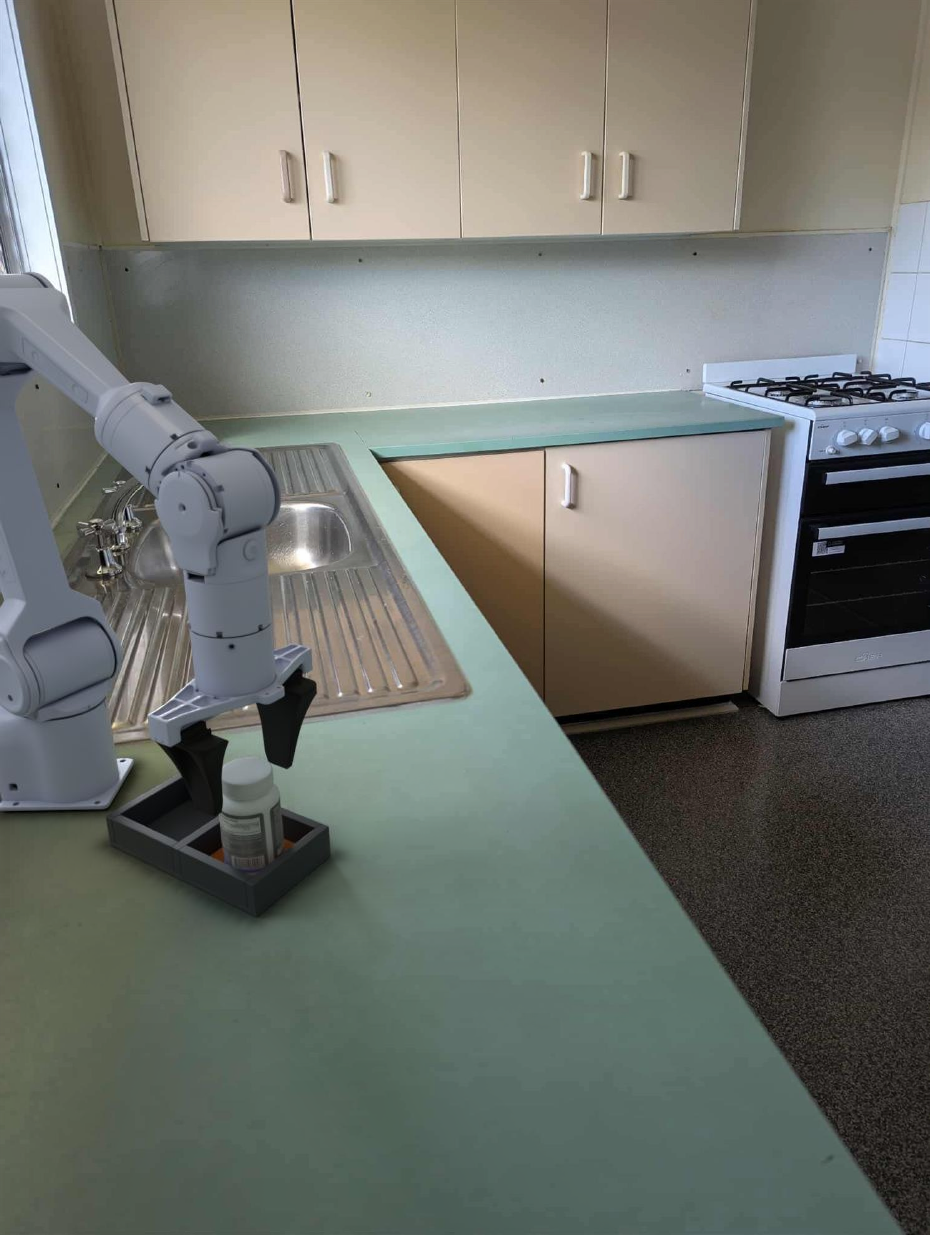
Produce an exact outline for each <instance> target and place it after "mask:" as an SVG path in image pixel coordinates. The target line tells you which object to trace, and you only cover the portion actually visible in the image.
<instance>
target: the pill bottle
mask: <svg viewBox="0 0 930 1235" xmlns="http://www.w3.org/2000/svg"><path fill="white" fill-rule="evenodd" d="M274 777H275V776H274V769H273V764H271V763H270V762H269V761H268V760H267V759H265V758H262V757H260V756H259V757H258V756H244V757H239V758H235V759H233V760H230V761H229V762H227V763H225V764H223V767H222V790H223V808H222V812H221V813H220V814H219V821H220V828H221V839H222V846H223V853H224V862H225V864H228V865H230V866H232V867H234V868H236V869H238V870H241V871H243V872H245V873H247V874H249V875H251V876H254V875H255V874H256V873H258V872H259V871H260V870H262V869H263V868H264V867H266V866H267V865H268V864H270V863H271V862H272V861H273V860H275V859H276V858H277V857H279V856H280V855H281V854H283V853H284V852H285V848H284V836H283V824H282V813H281V807H282V805H281V803H282V802H281V793H280V789H279V786H277V784H276V783H275V781H274Z"/></svg>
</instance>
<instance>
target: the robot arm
mask: <svg viewBox="0 0 930 1235" xmlns="http://www.w3.org/2000/svg"><path fill="white" fill-rule="evenodd" d="M38 376H41V377H42V378H43V379H45V380H46V381H47V382H48V383H49V384H50V385H52V386H53V387H55V388H56V389H57V390H58V391H60V392H61V393H63V395H65V396H66V397H67V398H69V399H70V400H72V402H74V403H75V404H76V405H78V406H79V407H80V408H82V409H83V410H84V411H85V412H87V413H88V414H89V415H90V416H91V417H92V418H94V419H95V421H94V426H93V427H94V429H93V431H94V436H95V439H96V441H97V443H98V444H99V445H100V446H101V447H102V448H103V449H104V450H105V451H106V452H107V453H108V454H109V455H110V456H111V457H112V458H113V459H115V461H117V463H119V465H121V466H122V467H123V468H124V469H125V470H126V471H127V472H128V473H130V474H131V476H132V477H134V478H135V479H136V480H137V481H138V482H139V483H140V484H141V485H142V486H143V487H144V488H146V490H148V492H150V493H151V494H152V495H153V496H154V497H155V498H156V499H154V508H155V512H156V515H157V517H158V521H159V522H160V524H161V526H162V528H163V530H164V531H165V533H166V535H167V536H168V539H169V541H170V543H171V547H172V556H173V561H175V562H176V565H177V568H178V569H180V570H182V573H183V575H182V576H183V584H184V590H185V591H184V592H185V599H186V609H187V618H188V620H187V621H188V628H189V637H190V646H191V655H192V664H193V673H194V674H193V675H194V678H192V679H191V680H190V681H189V682H188V683H187V684H185V686H183V687H182V688H181V689H180V690H179V691H178V692H176V694H174V695H173V696H172V697H171V698H170V699H169V700H167V702H166V703H164V704H163V705H162V706H160V707H159V708H157V709H155V710H153V711H152V712H149V713H148V714H146V716H147V725H148V730H149V738H150V740H151V741H154V742H155V743H156V744H157V746H159V747H160V749H162V751H163V752H164V753H165V755H167V757H168V758H169V760H170V761H171V762H172V763H173V765H174V767H175V768H176V769H177V771H178V773H180V774H181V776H182V778H183V780H184V782H185V784H186V786H187V788H188V790H189V792H190V795H191V797H192V799H193V802H194V804H195V807H196V809H197V810H200V811H202V812H204V813H207V814H209V815H211V816H217V815H218V814H220V813H221V812H222V808H223V790H222V767H223V766H224V761H225V760H224V759H225V755H226V751H227V748H228V745H229V743H230V740H228V739H226V738H223V737H220V736H218V735H215V734H213V733H212V728H211V727H208V726H207V722H209V721H210V720H212V719H214V718H215V717H217V716H219V715H221V714H224V713H228V712H231V711H234V710H238V709H241V708H245V707H247V706H251V705H256V708H257V712H258V715H259V721H260V725H261V731H262V741H263V748H264V754H265V757H266V760H267V761H269V762H270V764H271V765H274V766H277V767H279V768H282V769H285V770H288V769H290V768H291V767H293V763H294V759H295V755H296V751H297V746H298V741H299V737H300V732H301V729H302V725H303V722H304V720H305V718H306V715H307V712H308V710H309V708H310V706H311V704H312V702H313V701H314V699H315V697H316V696H317V695H318V686H317V685H318V684H317V681H315V680H314V679H311V678H308V677H305V676H304V675H306V674H308V673H310V672H312V671H313V668H314V667H313V652H312V650H313V649H312V647H308V646H306V645H303V644H298V643H296V642H295V643H294V642H292V643H290V644H287V645H285V646H282V647H279V648H276V649H275V646H274V632H273V618H272V603H271V590H270V589H271V588H270V576H269V563H268V550H267V549H268V548H267V535H266V534H267V533H266V527H268V526H270V525H272V524H273V523H274V521H275V520H276V519H277V517H278V515H279V513H280V510H281V506H282V490H281V486H280V482H279V479H278V476H277V473H276V472H275V470H274V468H273V467H272V465H271V464H270V463H269V462H268V460H267V459H265V457H264V456H263V454H262V453H261V451H260V450H258V449H256V447H255V448H254V447H253V446H248V445H239V446H234V445H232V444H231V443H229V442H228V441H219V439H218V437H217V436H215V435H214V434H213V432H211V431H210V430H208V429H206V428H205V427H204V426H203V425H201V423H199V422H198V420H196V419H195V418H194V417H193V416H191V415H190V414H189V413H188V412H187V411H186V410H185V409H183V407H181V406H180V405H179V404H178V403H177V402H175V400H174V399H173V394H172V392H171V391H170V390H168V389H167V388H166V387H165V386H164V385H163V384H154V383H152V382H146V381H137V382H132V383H130V381H129V380H128V379H127V378H126V377H125V375H123V374H122V373H121V371H119V369H118V368H116V367H115V365H114V364H113V363H112V362H111V361H110V360H109V359H108V358H107V357H106V355H104V354H103V353H102V352H101V351H100V349H98V347H97V346H96V345H95V344H94V343H93V342H92V341H91V339H89V338H88V337H87V335H86V334H84V333H83V331H82V330H81V329H80V328H79V326H77V325H76V324H75V323H74V322H73V321H72V316H71V311H70V305H69V302H68V298H67V296H66V294H65V293H63V292H62V291H61V290H58V289H57V288H56V287H55V286H54V284H52V282H51V281H50V280H49V279H48V278H47V277H46V276H45V275H43V274H42V273H38V272H35V271H26V272H21V273H0V591H1V595H2V599H3V602H2V604H1V605H0V797H1V801H0V811H1V812H13V811H14V812H16V811H17V812H19V811H20V812H21V811H24V812H25V811H68V810H69V811H71V810H72V811H73V810H74V811H75V810H79V811H81V810H106V809H108V808H109V807H110V806H111V804H112V803H113V801H114V799H115V798H116V796H117V794H118V792H119V791H120V789H121V787H122V785H123V783H124V782H125V780H126V778H127V777H128V775H129V773H130V772H131V770H132V768H133V766H134V764H135V760H134V759H133V758H118V757H117V752H116V746H115V739H114V733H113V726H112V721H111V714H110V706H109V702H108V694H109V693H110V692H113V691H114V684H113V679H115V678H117V676H119V674H120V672H121V671H122V667H123V648H122V644H121V642H120V639H119V637H118V635H117V633H116V632H115V631H114V628H112V626H111V625H110V623H109V621H108V619H107V617H106V615H105V612H104V610H103V606H102V603H101V602H100V601H99V600H97V599H95V598H93V597H91V596H89V595H86V594H83V593H82V592H79V591H76V590H74V589H72V588H71V587H70V583H69V581H68V577H67V574H66V571H65V567H64V564H63V561H62V557H61V554H60V550H59V548H58V544H57V541H56V538H55V537H56V536H55V534H54V531H53V528H52V525H51V521H50V518H49V514H48V511H47V508H46V505H45V502H44V499H43V495H42V491H41V489H40V485H39V481H38V479H37V475H36V472H35V469H34V466H33V462H32V459H31V456H30V452H29V449H28V446H27V442H26V439H25V435H24V432H23V429H22V426H21V422H20V419H19V416H18V413H17V410H16V401H17V400H18V398H19V394H20V393H21V391H22V389H23V388H24V387H25V386H28V385H29V384H31V383H33V382H34V381H35V380H36V379H37V377H38Z"/></svg>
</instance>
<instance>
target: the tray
mask: <svg viewBox="0 0 930 1235" xmlns="http://www.w3.org/2000/svg"><path fill="white" fill-rule="evenodd" d="M281 813H282V824H283V836H284V848H285V852H284V853H283V854H281V855H280V856H279V857H277V858H276V859H275V860H273V861H272V862H271V863H270V864H268V865H267V866H266V867H264V868H263V869H262V870H260V871H259V872H258V873H256V874H255V875H254V876H251V875H249V874H247V873H245V872H243V871H241V870H238V869H236V868H234V867H232V866H230V865H228V864H225V862H224V853H223V846H222V839H221V828H220V821H219V814H218V815H217V816H211V815H209V814H207V813H204V812H202V811H200V810H197V809H196V807H195V804H194V802H193V799H192V797H191V795H190V792H189V790H188V788H187V786H186V784H185V782H184V780H183V778H182V776H181V774H180V772H178V773H176V774H175V775H173V776H172V777H170V778H168V779H167V780H165V781H163V782H162V783H160V784H158V785H156V786H154V787H153V788H151V789H149V790H148V791H146V792H144V793H142V794H141V795H139V796H137V797H135V798H134V799H132V800H131V801H129V802H127V803H125V804H124V805H122V806H120V807H119V808H116V809H115V810H113V811H112V812H110V813H109V814H106V815H105V820H106V827H107V834H108V838H109V845H110V846H111V847H113V848H115V849H117V850H118V851H121V852H122V853H125V854H127V855H129V856H131V857H133V858H135V859H137V860H139V861H141V862H143V863H145V864H147V865H149V866H151V867H153V868H155V869H157V870H160V871H161V872H163V873H166V874H167V875H169V876H171V877H174V878H175V879H178V880H180V881H182V882H183V883H185V884H188V885H189V886H192V887H194V888H195V889H198V890H200V891H202V892H204V893H206V894H208V895H210V896H211V897H214V898H216V899H218V900H221V901H222V902H224V903H226V904H227V905H230V906H233V907H234V908H236V909H239V910H240V911H243V912H244V913H247V914H249V915H250V916H253V917H255V918H258V916H260V915H261V914H262V913H264V911H265V910H267V909H268V908H269V907H270V906H272V905H273V904H275V903H276V902H277V901H278V900H279V899H281V898H282V897H283V896H284V895H285V894H287V892H289V891H291V889H293V888H294V887H295V886H296V885H298V883H300V882H301V881H302V880H304V879H305V878H306V877H307V876H309V874H311V873H312V872H313V871H314V870H316V869H317V868H318V867H319V866H321V865H322V864H323V863H324V862H325V861H327V860H328V859H329V858H330V857H331V855H332V854H331V839H330V838H331V837H330V836H331V835H330V826H329V825H326V824H324V823H321V822H319V821H316V820H315V819H312V818H309V817H307V816H304V815H302V814H299V813H297V812H294V811H292V810H289V809H287V808H284V807H282V806H281Z"/></svg>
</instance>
